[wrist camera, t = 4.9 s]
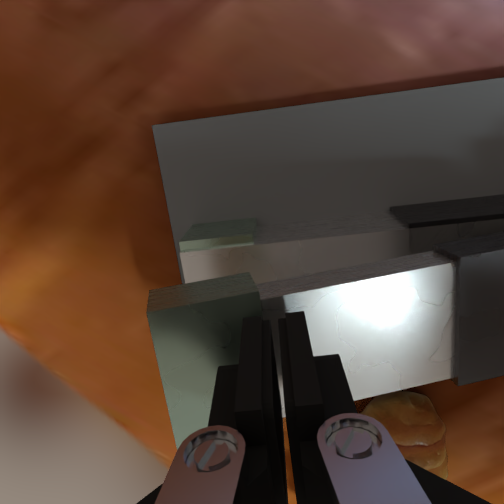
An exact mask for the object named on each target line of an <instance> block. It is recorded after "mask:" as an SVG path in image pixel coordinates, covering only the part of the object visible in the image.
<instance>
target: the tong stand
mask: <svg viewBox="0 0 504 504" xmlns="http://www.w3.org/2000/svg"><path fill="white" fill-rule="evenodd" d="M499 232H504V194H501V195H492V196H483V197H474V198H465V199H456V200H447V201H438V202H429V203H420V204H411V205H402V206H393V207H390V211H387V212H378V213H369V214H360V215H351V216H342V217H333V218H323V219H314V220H305V221H296V222H287V223H278V224H269V225H260V226H257V221H256V217H255V218H246V219H237V220H229V221H220V222H211V223H202V224H193V225H191V227H190V228H189V229H188V231H187V232H186V233H185V235H184V236H183V237H182V239H181V240H180V241H179V245H180V251H181V252H180V258H181V263H182V268H183V274H184V279H185V284H186V283H191V282H197V281H202V280H207V279H213V278H218V277H224V276H229V275H234V274H240V273H245V272H249V273H250V275H251V277H252V278H253V280H254V282H255V284H260V283H265V282H270V281H276V280H281V279H286V278H291V277H297V276H302V275H307V274H313V273H318V272H323V271H328V270H334V269H339V268H344V267H349V266H355V265H360V264H365V263H371V262H376V261H381V260H386V259H392V258H397V257H402V256H408V255H413V254H418V253H423V252H429V251H433V245H435V244H440V243H445V242H451V241H456V240H461V239H467V238H472V237H477V236H483V235H488V234H493V233H499Z"/></svg>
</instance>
